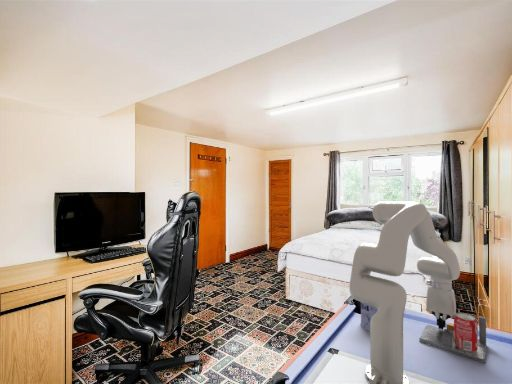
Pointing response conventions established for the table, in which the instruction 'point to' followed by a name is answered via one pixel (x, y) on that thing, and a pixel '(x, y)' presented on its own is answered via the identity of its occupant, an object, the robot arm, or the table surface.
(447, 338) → the ram
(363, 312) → the aerosol can
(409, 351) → the table surface
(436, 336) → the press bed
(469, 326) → the soda can
